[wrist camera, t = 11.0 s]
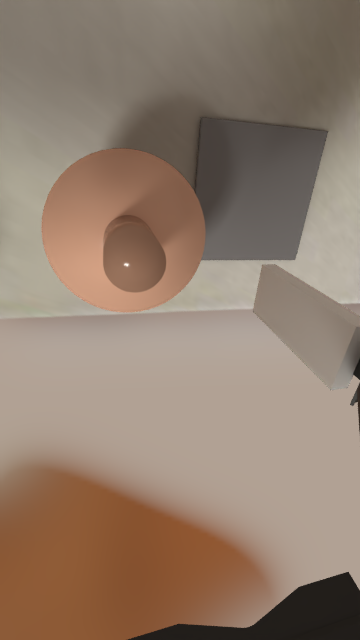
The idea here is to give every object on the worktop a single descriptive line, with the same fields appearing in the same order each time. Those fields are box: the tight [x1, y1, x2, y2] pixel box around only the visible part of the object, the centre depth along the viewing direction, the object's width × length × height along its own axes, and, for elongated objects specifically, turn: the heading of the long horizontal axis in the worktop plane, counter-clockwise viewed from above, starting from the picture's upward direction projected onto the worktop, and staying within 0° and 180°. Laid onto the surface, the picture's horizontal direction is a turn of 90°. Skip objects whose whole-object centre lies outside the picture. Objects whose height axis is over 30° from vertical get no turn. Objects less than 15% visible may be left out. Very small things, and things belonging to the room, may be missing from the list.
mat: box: [195, 117, 328, 260], centre depth 35 cm, size 15×15×1 cm
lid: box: [42, 148, 206, 312], centre depth 22 cm, size 13×13×7 cm
